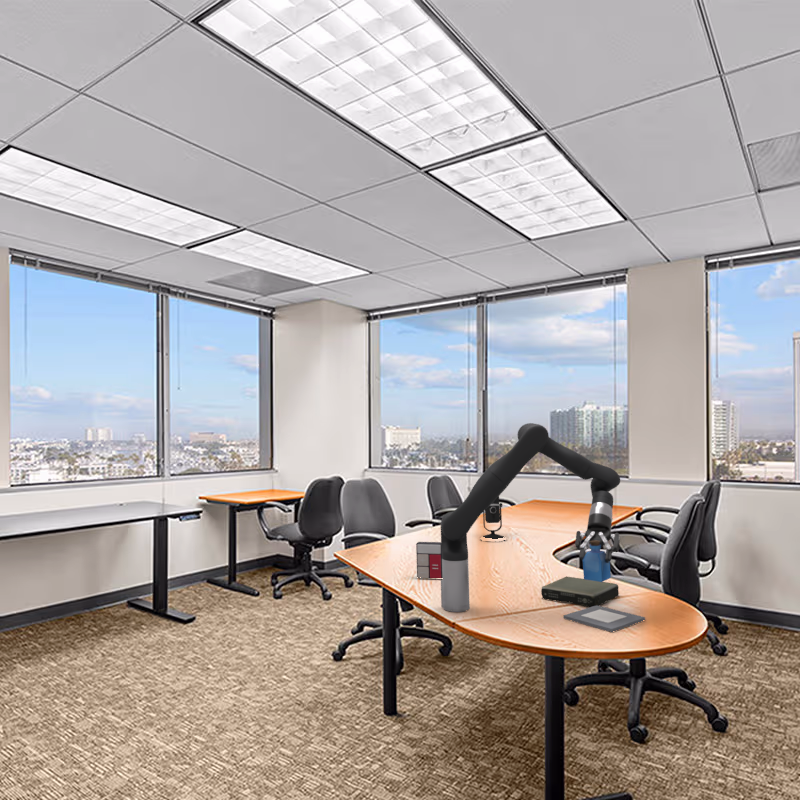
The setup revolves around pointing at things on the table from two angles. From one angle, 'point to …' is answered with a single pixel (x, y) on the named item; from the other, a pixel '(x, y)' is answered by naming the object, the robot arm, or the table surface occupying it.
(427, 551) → the grey and red box
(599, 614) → the mat
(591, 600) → the network switch
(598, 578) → the perfume bottle
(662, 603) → the table surface
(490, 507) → the microphone
